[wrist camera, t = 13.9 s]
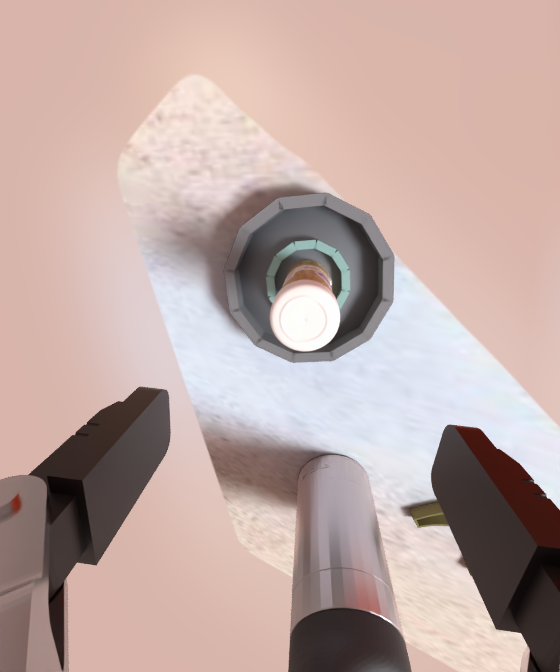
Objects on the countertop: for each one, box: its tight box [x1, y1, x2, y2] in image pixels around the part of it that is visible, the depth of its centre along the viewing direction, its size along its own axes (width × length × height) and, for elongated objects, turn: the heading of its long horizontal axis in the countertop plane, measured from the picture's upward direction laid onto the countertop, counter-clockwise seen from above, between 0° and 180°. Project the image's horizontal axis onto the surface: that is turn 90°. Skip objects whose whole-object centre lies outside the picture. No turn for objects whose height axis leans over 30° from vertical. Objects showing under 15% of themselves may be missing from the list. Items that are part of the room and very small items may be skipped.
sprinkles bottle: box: [270, 260, 340, 351], centre depth 27 cm, size 5×5×13 cm
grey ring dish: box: [224, 193, 394, 363], centre depth 32 cm, size 16×16×3 cm
